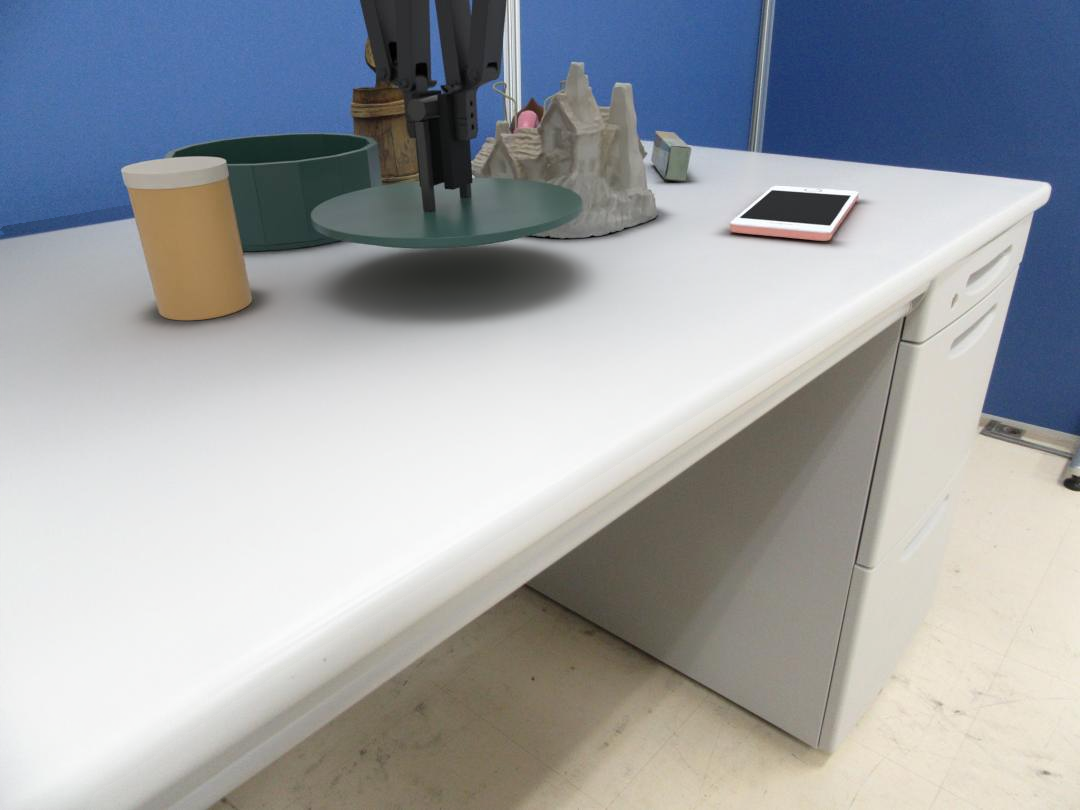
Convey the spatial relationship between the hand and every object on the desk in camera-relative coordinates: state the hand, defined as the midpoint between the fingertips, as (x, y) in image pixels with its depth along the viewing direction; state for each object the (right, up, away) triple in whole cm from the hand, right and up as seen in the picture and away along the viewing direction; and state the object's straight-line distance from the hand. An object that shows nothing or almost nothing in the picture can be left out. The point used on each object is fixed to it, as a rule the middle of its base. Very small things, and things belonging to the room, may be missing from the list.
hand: (446, 184), depth 59 cm
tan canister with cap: (-17, -9, -2) cm, 20 cm away
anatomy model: (+6, +13, +43) cm, 45 cm away
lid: (0, -2, +1) cm, 2 cm away
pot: (-18, +2, +20) cm, 27 cm away
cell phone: (+32, +2, +18) cm, 37 cm away
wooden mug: (-11, +11, +39) cm, 42 cm away
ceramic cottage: (+10, +2, +20) cm, 22 cm away
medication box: (+23, +12, +40) cm, 48 cm away
